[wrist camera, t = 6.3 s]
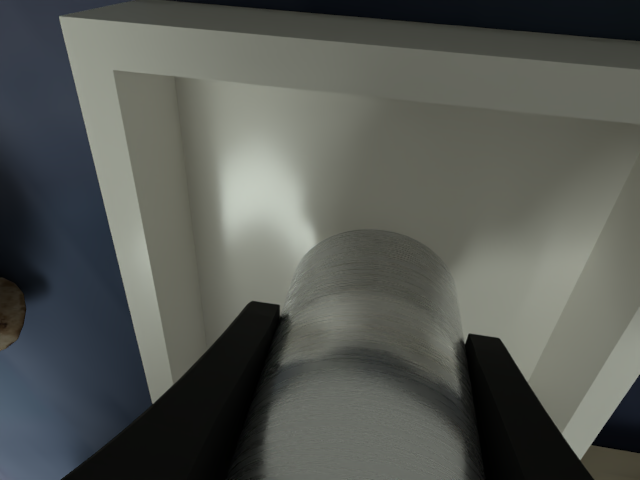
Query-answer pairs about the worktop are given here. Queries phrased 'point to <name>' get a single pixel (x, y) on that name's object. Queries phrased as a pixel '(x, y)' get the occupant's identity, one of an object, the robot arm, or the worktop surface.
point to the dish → (371, 176)
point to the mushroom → (10, 312)
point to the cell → (364, 371)
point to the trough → (611, 464)
